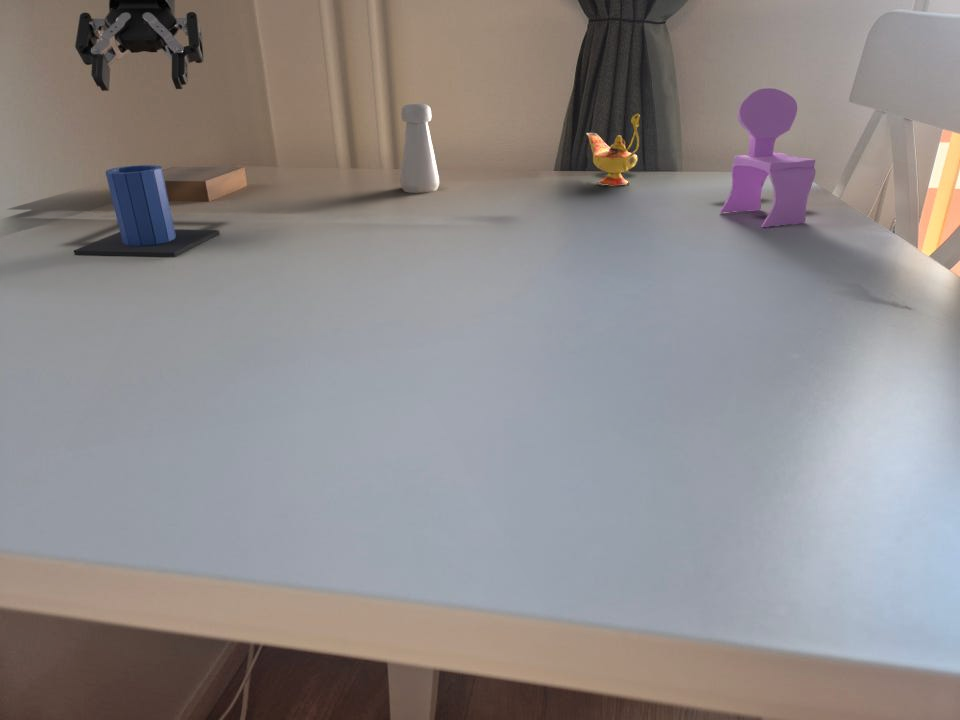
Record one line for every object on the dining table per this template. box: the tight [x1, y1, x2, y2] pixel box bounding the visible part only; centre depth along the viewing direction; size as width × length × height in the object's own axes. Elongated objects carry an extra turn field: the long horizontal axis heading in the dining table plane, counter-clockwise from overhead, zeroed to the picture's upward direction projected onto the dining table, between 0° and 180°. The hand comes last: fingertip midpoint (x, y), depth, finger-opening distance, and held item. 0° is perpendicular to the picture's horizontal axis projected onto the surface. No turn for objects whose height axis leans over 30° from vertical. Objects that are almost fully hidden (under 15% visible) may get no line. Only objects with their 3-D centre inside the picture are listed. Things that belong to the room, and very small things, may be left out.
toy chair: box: [719, 87, 816, 228], centre depth 81 cm, size 8×9×15 cm
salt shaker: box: [399, 103, 440, 194], centre depth 98 cm, size 6×6×13 cm
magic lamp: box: [585, 112, 641, 185], centre depth 107 cm, size 7×18×11 cm, turn 15°
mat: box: [73, 228, 220, 258], centre depth 79 cm, size 12×10×1 cm
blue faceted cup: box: [105, 164, 176, 246], centre depth 77 cm, size 6×6×8 cm
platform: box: [162, 166, 248, 203], centre depth 101 cm, size 12×12×4 cm
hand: (140, 85), depth 82 cm, fingers open, 8 cm apart
